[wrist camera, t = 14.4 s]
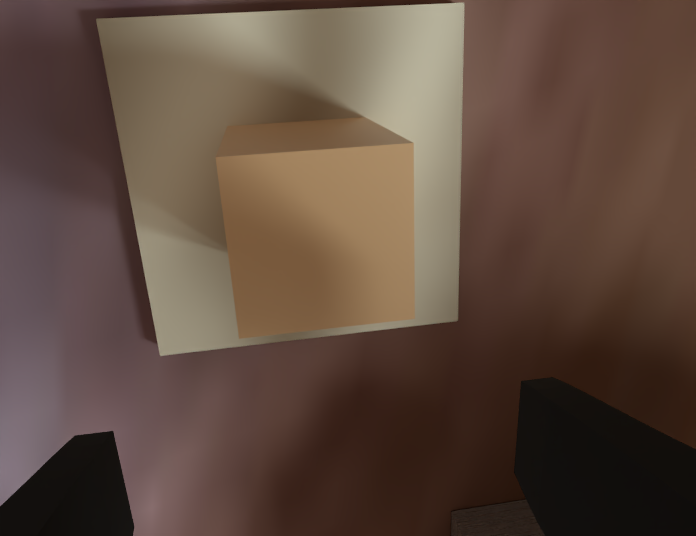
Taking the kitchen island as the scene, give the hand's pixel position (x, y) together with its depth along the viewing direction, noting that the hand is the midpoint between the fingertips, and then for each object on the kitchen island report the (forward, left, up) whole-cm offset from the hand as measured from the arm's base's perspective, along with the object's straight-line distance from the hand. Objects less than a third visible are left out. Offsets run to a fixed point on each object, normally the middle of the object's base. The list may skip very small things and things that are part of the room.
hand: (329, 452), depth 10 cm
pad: (0, -3, -9) cm, 10 cm away
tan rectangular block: (0, -3, -9) cm, 9 cm away
